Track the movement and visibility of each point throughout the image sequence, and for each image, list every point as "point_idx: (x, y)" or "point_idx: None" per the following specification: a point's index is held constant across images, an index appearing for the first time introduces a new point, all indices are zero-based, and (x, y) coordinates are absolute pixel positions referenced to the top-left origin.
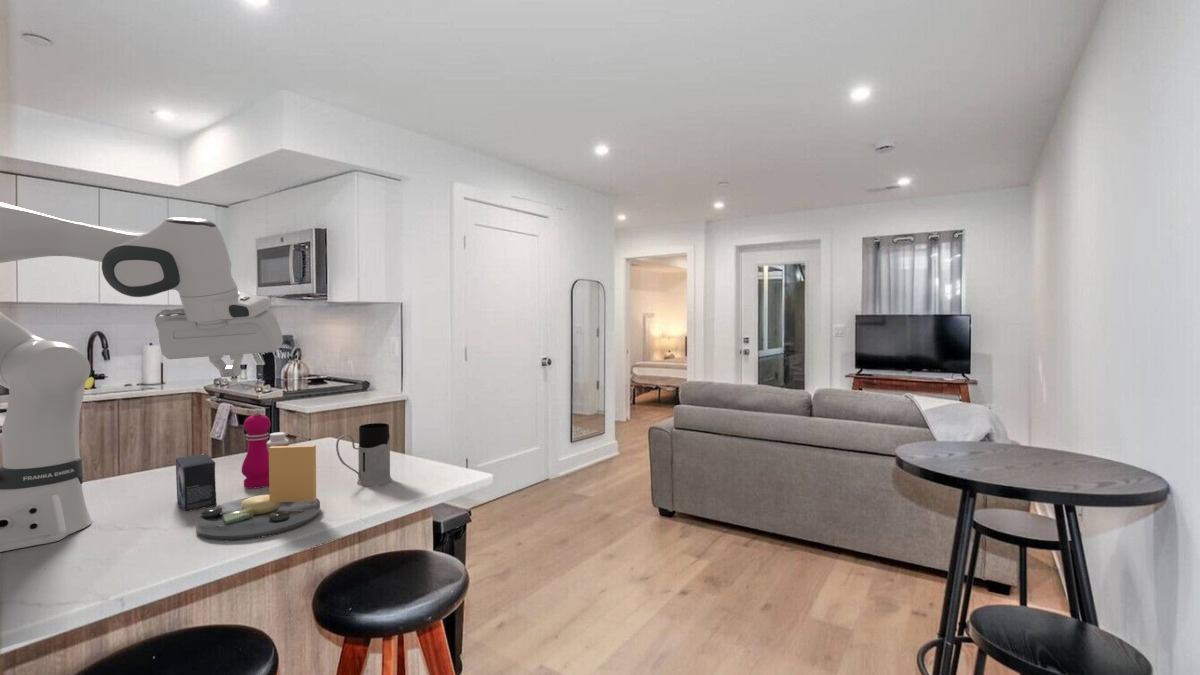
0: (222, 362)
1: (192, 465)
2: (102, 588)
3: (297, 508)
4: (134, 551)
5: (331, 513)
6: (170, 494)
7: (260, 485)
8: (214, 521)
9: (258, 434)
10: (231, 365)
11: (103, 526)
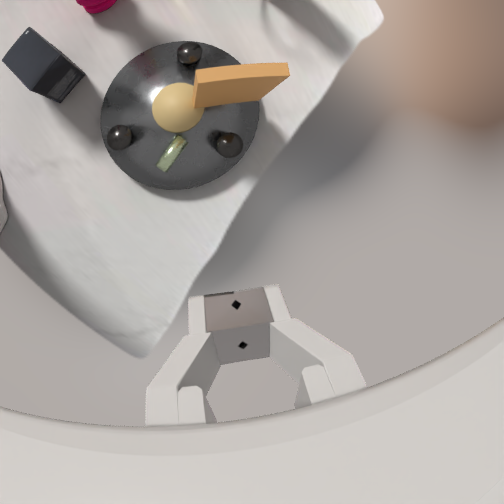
0: (200, 367)
1: (37, 79)
2: (145, 309)
3: None
4: (95, 229)
5: None
6: None
7: (109, 6)
8: (139, 158)
9: None
10: (240, 327)
11: (11, 168)
